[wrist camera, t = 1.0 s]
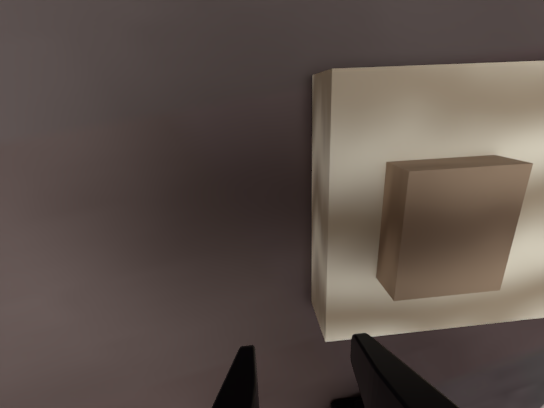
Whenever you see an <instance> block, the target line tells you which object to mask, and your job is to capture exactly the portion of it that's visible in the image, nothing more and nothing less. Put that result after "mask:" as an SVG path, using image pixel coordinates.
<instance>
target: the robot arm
mask: <svg viewBox="0 0 544 408" xmlns="http://www.w3.org/2000/svg"><path fill="white" fill-rule="evenodd" d="M351 363H352V367H353V370H354V373H355V377H356V380H357V383H358V387H359V390H360V393H361V397H362V398H354V399H346V400H338V401H334V402H332V403H331V408H459V407H458V406H457V405H456V404H454V403H453V402H452V401H451V400H449V399H448V398H447V397H446V396H444V395H443V394H442V393H441V392H439V391H438V390H437V389H436V388H434V387H433V386H432V385H431V384H430V383H428V382H427V381H426V380H425V379H423V378H422V377H421V376H420V375H418V374H417V373H416V372H415V371H413V370H412V369H411V368H410V367H408V366H407V365H406V364H405V363H403V362H402V361H401V360H400V359H398V358H397V357H396V356H395V355H394V354H392V353H391V352H390V351H389V350H387V349H386V348H385V347H384V346H382V345H381V344H380V343H379V342H377V341H376V340H375V339H374V338H372V337H371V336H370V335H369V334H367V333H358V334H353V335H352V339H351ZM212 408H259V397H258V382H257V367H256V354H255V347H254V346H253V345H249V346H242V347H240V348H239V350H238V352H237V354H236V357H235V359H234V361H233V363H232V365H231V367H230V369H229V372H228V374H227V376H226V378H225V380H224V382H223V385H222V387H221V389H220V391H219V393H218V395H217V397H216V400H215V402H214V404H213V406H212Z"/></svg>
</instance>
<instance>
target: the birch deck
mask: <svg viewBox="0 0 544 408" xmlns="http://www.w3.org/2000/svg"><path fill="white" fill-rule="evenodd" d="M485 155H498V156H502V157H507V158H511V159H516V160H520V161H525V162H529V163H533V166H532V170H531V174H530V177H529V181H528V185H527V189H526V193H525V197H524V200H523V204H522V208H521V212H520V216H519V220H518V223H517V227H516V231H515V235H514V239H513V243H512V246H511V250H510V254H509V258H508V262H507V266H506V269H505V273H504V277H503V281H502V285H501V289H500V290H498V291H489V292H479V293H469V294H459V295H450V296H440V297H430V298H420V299H411V300H401V301H393V299H392V298H391V297H390V295H389V294H388V293H387V291H386V290H385V289H384V287H383V286H382V285H381V283H380V282H379V281H378V280H377V278H376V272H377V261H378V250H379V239H380V228H381V217H382V206H383V195H384V184H385V173H386V162H391V161H406V160H422V159H438V158H454V157H469V156H485ZM311 302H312V305H313V308H314V311H315V314H316V317H317V319H318V322H319V325H320V328H321V331H322V334H323V337H324V340H325V342H330V341H339V340H348V339H352V335H353V334H358V333H367V334H369V335H370V336H371V337H375V336H383V335H392V334H401V333H410V332H419V331H428V330H437V329H446V328H455V327H464V326H473V325H482V324H491V323H500V322H509V321H518V320H527V319H535V318H544V61H523V62H496V63H469V64H442V65H415V66H388V67H362V68H335V69H329V70H326V71H323V72H320V73H317V74H314V75H312V273H311Z"/></svg>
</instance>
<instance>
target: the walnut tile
mask: <svg viewBox="0 0 544 408" xmlns="http://www.w3.org/2000/svg"><path fill="white" fill-rule="evenodd" d="M532 166H533V163H529V162H525V161H520V160H516V159H511V158H507V157H502V156H498V155H485V156H469V157H454V158H438V159H422V160H406V161H391V162H386V173H385V184H384V195H383V206H382V217H381V228H380V239H379V250H378V261H377V272H376V278H377V280H378V281H379V282H380V283H381V285H382V286H383V287H384V289H385V290H386V291H387V293H388V294H389V295H390V297H391V298H392V299H393V301H401V300H411V299H420V298H430V297H440V296H450V295H459V294H469V293H479V292H489V291H498V290H500V289H501V285H502V281H503V277H504V273H505V269H506V266H507V262H508V258H509V254H510V250H511V246H512V243H513V239H514V235H515V231H516V227H517V223H518V220H519V216H520V212H521V208H522V204H523V200H524V197H525V193H526V189H527V185H528V181H529V177H530V174H531V170H532Z"/></svg>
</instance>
